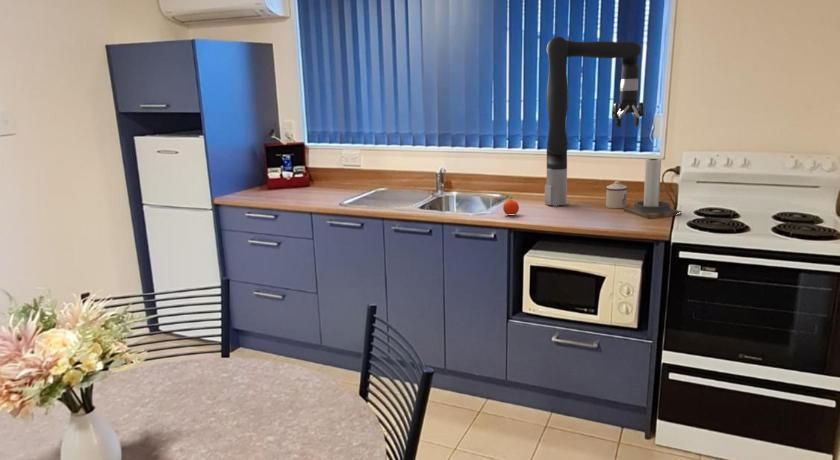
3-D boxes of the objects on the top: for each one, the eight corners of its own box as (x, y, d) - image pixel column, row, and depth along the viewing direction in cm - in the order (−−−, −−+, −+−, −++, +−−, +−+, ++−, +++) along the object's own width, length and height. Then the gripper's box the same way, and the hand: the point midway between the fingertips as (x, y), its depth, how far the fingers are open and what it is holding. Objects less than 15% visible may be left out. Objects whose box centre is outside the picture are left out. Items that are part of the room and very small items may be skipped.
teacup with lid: (626, 208, 260) (627, 183, 257) (605, 208, 263) (606, 183, 260) (626, 203, 271) (626, 178, 269) (605, 203, 274) (606, 178, 271)
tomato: (501, 213, 262) (500, 198, 261) (516, 212, 263) (516, 197, 261) (505, 217, 255) (504, 201, 253) (520, 216, 255) (520, 200, 254)
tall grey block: (644, 207, 254) (646, 158, 249) (659, 208, 252) (661, 158, 247) (642, 210, 248) (644, 160, 243) (657, 211, 246) (659, 160, 240)
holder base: (647, 218, 240) (648, 209, 240) (623, 210, 256) (623, 201, 256) (681, 214, 244) (681, 205, 243) (655, 207, 260) (655, 198, 259)
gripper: (638, 89, 263) (636, 125, 267) (609, 90, 260) (608, 127, 264) (648, 89, 256) (646, 126, 260) (619, 90, 253) (617, 128, 257)
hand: (626, 126), depth 262 cm, fingers open, 8 cm apart
